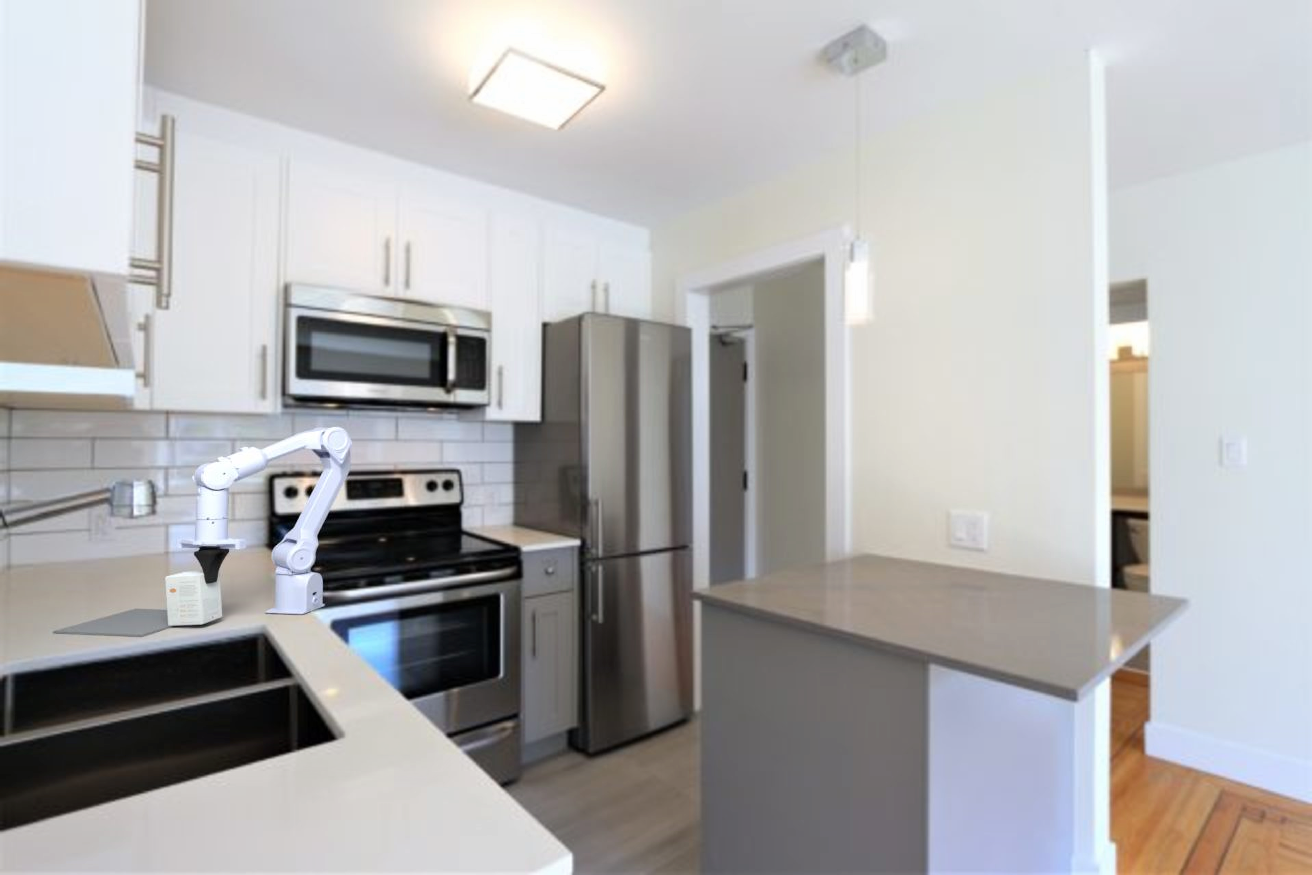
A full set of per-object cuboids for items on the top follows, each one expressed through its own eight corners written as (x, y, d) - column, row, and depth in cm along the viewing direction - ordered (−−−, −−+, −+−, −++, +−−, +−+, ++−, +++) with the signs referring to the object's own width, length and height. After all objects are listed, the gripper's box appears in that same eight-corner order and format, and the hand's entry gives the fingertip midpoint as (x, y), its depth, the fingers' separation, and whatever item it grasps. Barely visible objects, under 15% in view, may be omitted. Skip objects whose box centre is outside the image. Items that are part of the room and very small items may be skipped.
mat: (214, 613, 143) (214, 611, 143) (141, 636, 125) (141, 634, 125) (135, 610, 145) (135, 608, 145) (52, 632, 127) (52, 631, 127)
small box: (223, 617, 136) (220, 569, 136) (202, 625, 130) (199, 574, 130) (189, 618, 136) (186, 570, 136) (166, 626, 131) (164, 576, 131)
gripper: (164, 520, 130) (162, 585, 129) (229, 520, 129) (226, 587, 128) (192, 517, 137) (190, 579, 136) (254, 517, 136) (252, 580, 135)
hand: (210, 582), depth 133 cm, fingers closed, pressing on small box
